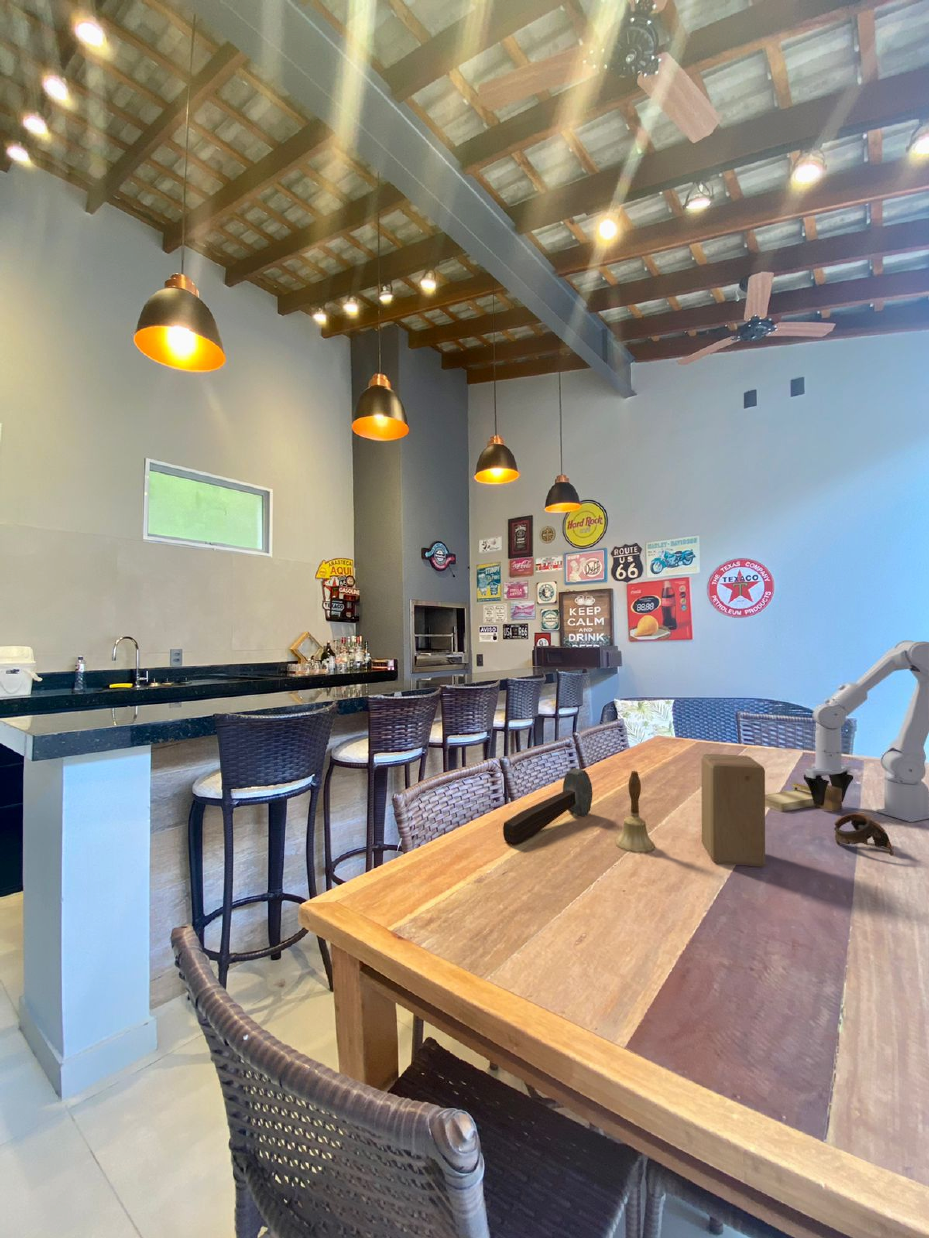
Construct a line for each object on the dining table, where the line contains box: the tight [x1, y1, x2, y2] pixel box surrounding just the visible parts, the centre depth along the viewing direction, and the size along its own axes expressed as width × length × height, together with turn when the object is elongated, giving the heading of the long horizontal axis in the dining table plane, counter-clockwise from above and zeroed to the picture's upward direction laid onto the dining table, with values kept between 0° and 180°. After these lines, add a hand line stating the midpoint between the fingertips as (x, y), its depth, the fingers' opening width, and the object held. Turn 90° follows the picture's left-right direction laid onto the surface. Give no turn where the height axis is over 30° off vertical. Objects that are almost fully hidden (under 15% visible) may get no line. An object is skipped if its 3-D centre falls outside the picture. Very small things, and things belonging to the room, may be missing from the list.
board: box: [765, 788, 816, 813], centre depth 144 cm, size 17×7×2 cm, turn 112°
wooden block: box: [701, 753, 766, 868], centre depth 111 cm, size 10×10×20 cm
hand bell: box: [614, 770, 656, 853], centre depth 116 cm, size 8×8×16 cm
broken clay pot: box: [833, 812, 894, 857], centre depth 116 cm, size 12×10×8 cm
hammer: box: [502, 767, 594, 846], centre depth 127 cm, size 5×11×30 cm
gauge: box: [791, 781, 843, 812], centre depth 144 cm, size 4×12×6 cm, turn 22°
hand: (828, 802), depth 140 cm, fingers open, 7 cm apart
